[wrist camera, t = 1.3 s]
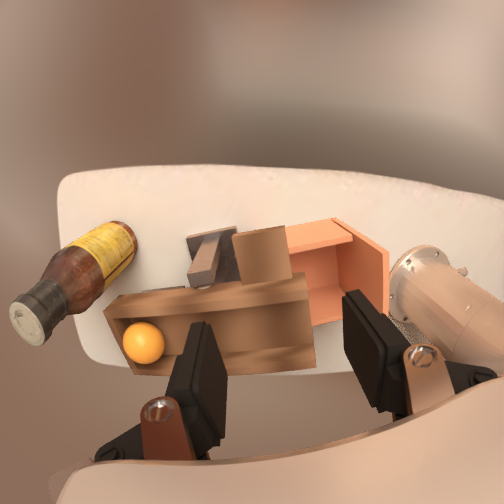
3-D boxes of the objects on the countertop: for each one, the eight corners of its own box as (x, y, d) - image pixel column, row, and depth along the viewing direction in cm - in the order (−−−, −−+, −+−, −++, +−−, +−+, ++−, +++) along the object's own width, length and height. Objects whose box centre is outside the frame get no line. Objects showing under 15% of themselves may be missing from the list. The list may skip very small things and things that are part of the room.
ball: (160, 311, 24) (148, 335, 21) (174, 345, 26) (165, 371, 22) (125, 316, 25) (109, 339, 21) (139, 348, 26) (127, 373, 22)
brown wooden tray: (295, 216, 23) (299, 234, 18) (311, 330, 27) (316, 368, 22) (117, 249, 26) (86, 270, 21) (154, 344, 30) (134, 375, 24)
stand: (235, 225, 33) (232, 257, 22) (255, 311, 37) (260, 370, 26) (187, 235, 34) (162, 271, 22) (212, 319, 37) (202, 378, 26)
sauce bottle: (100, 215, 32) (-8, 269, 13) (142, 224, 33) (47, 293, 14) (97, 261, 34) (6, 339, 15) (137, 271, 35) (59, 366, 16)
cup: (335, 217, 33) (389, 252, 20) (341, 283, 36) (386, 343, 23) (262, 231, 34) (276, 277, 20) (275, 298, 36) (292, 368, 23)
